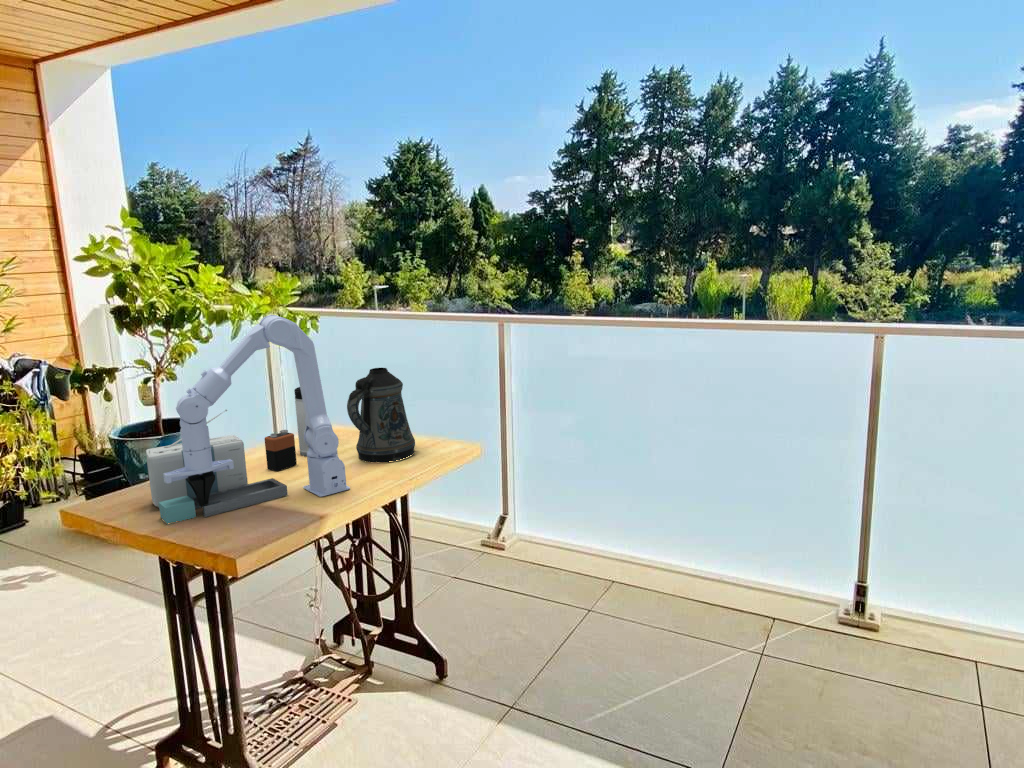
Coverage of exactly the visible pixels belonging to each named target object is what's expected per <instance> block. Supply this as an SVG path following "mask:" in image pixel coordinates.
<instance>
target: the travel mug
mask: <svg viewBox="0 0 1024 768" xmlns="http://www.w3.org/2000/svg"><path fill="white" fill-rule="evenodd" d="M293 390H294V403H295V405H294V406H295V412H296V416H295V417H296V424H297V425H296V426H297V434H298V435H297V436H298V445H299V446H298V448H299V454H300V456H303V457H307V452H308V449H309V446H308V445H307V444H306V443H305V441H304V432H305V429H306V425H305V417H306V415H305V410H304V405H303V400H302V394H301V389H300V386H298V387H296V388H294V389H293Z"/></svg>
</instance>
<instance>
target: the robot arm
mask: <svg viewBox="0 0 1024 768" xmlns="http://www.w3.org/2000/svg"><path fill="white" fill-rule="evenodd" d="M269 343H272V344H273V345H276V346H280V347H283V348H285V349H287V350H289V351H290V352H292V353H293V356H294V357H293V358H294V363H295V367H296V372H297V377H298V382H299V387H300V389H301V394H302V400H303V405H304V410H305V415H306V417H305V425H306V429H305V432H304V441H305V443H306V444H307V445H308V446H309V449H308V452H307V456H306V459H307V470H308V471H307V472H308V473H307V474H308V481H309V484H306V485H303V486H302V487H303V489H304V490H307V491H308V492H311V493H312V494H314V495H316V496H318V497H320V498H322V497H325V496H330V495H333V494H336V493H337V494H338V493H340V492H344V491H347V490H350V489H351V486H348V485H347V475H346V466H345V464H344V462H343V460H341V458H339V454H338V447H339V444H340V443H339V438H338V437H339V436H337V434H336V433H335V432H334V430H333V426H332V425H333V424H332V422H331V420H330V417H328V414H327V413H328V412H327V407H326V403H325V396H324V392H323V386H322V382H321V381H322V380H321V375H320V370H319V364H318V359H317V354H316V349H315V348H316V347H315V343H314V341H313V340H312V338H310V337H309V336H308V335H307V334H306V333H305V332H304V331H303V330H302V329H301V327H299V324H298V323H296V322H294V321H292V320H290V319H287V318H285V317H282V316H279V315H277V314H269V315H266V316H264V317H263V318H262V319H261V320H260V321H259V323H257V324H256V325H254V326H253V327H252V328H251V329H250V330H249V332H248V333H246V335H245V336H244V337H243V338H242V339H241V341H240V342H239V343H238V344H237V345H236V346H235V348H234V349H233V350H232V351H231V352H230V354H228V356H227V357H226V359H225V360H223V362H222V363H221V365H219V366H217V367H209V369H208V370H203V371H202V372H201V373H200V375H201V376H202V377H200V378H199V379H198V381H197V382H196V383H195V384H194V385H193V387H191V388H190V387H189V388H187V390H185V391H186V392H185V393H187V394H184V395H183V396H181V397H180V398H179V400H178V401H177V403H176V407H175V410H176V412H177V414H178V415H179V420H180V421H179V427H180V430H179V432H180V439H181V441H180V442H181V443H182V449H183V456H184V464H185V467H183V468H180V469H177V470H174V471H171V472H168V473H164V474H163V475H164V482H165V483H167V484H168V483H172V482H173V481H177V480H182V479H186V481H187V482H188V483H189V485H190V486H191V488H192V489H193V491H194V493H195V495H196V497H197V500H198V503H199V506H201V507H202V505H205V504H208V502H209V496H210V491H211V488H212V485H213V483H214V481H215V475H214V474H213V472H217V471H221V470H226V469H234V465H233V460H231V459H227V460H221V461H214V462H212V455H211V446H210V439H211V437H210V431H209V426H208V425H207V424H208V423H207V416H208V414H209V408H210V407H212V406H213V405H215V404H216V402H217V401H218V400H219V399H220V398H221V397H222V396H223V395H224V393H225V392H226V391H227V390H228V389H229V387H231V386H232V377H233V375H234V374H235V373H236V372H237V370H239V369H240V368H241V367H242V366H243V365H244V364H245V363H246V362H247V360H248V359H249V358H251V356H252V355H254V353H255V352H257V351H260V350H264V349H268V348H270V347H271V345H270V344H269Z"/></svg>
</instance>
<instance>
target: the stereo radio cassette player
mask: <svg viewBox="0 0 1024 768" xmlns="http://www.w3.org/2000/svg"><path fill="white" fill-rule="evenodd" d="M227 411H228V410H227V408H226V409H225V410H224V411H222V412H221V413H219V414H217V415H216V416H214V417H212V418H211V419H209V420H208V421H207V420H206V422H207V424H209V423H211V422H212V421H213V420H215V419H216V418H218V417H219V416H220V415H222V414H223V413H225V412H227ZM210 446H211V455H212V462H214V461H221V460H227V459H231V460H233V465H234V469H226V470H221V471H217V472H213V474H214V475H215V481H214V483H213V485H212V488H211V491H210V493H214V492H218V491H222V490H226V489H230V488H234V487H238V486H242V485H247V484H249V482H248V474H247V473H248V472H247V465H246V464H247V462H246V456H245V453H246V452H245V444H244V442H243V440H242V439H240V437H239V436H237V435H235V434H234V435H233V434H231V435H225V436H218V437H217V436H216V437H212V438H211V437H210ZM145 455H146V464H147V473H148V479H149V487H150V496H151V501H152V503H153V505H154V506H155V507H157V508H158V509H159V502H162V501H166V500H170V499H175V498H179V497H183V496H188V497H190V498H191V499H192V498H193V497H196V495H195V493H194V491H193V489H192V488H191V486H190V485H189V483H188V482H187V481H186V479H182V480H177V481H173V482H172V483H168V484H167V483H165V482H164V475H163V474H164V473H168V472H171V471H174V470H177V469H180V468H183V467H185V464H184V456H183V449H182V441H181V438H180V439H178V440H176V441H175V442H173V443H172V444H169V445H165V446H158V447H153V448H152V447H151V448H148V449H145Z"/></svg>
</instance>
